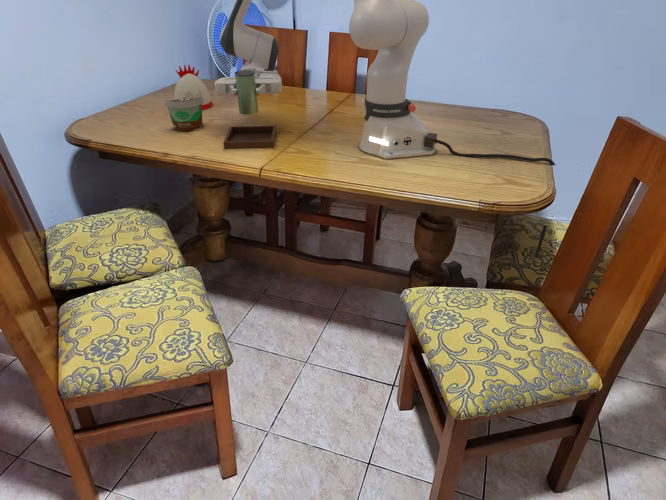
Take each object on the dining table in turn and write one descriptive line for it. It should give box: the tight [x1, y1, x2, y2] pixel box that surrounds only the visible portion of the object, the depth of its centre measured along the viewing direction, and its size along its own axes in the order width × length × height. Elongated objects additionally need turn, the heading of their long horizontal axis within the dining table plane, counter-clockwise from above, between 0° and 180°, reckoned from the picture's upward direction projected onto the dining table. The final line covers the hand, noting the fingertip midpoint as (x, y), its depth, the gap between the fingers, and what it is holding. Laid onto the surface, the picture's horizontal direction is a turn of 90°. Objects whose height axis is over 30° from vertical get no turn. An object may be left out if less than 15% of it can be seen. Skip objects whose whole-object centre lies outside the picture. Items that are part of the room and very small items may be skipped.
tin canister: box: [234, 69, 259, 116], centre depth 136 cm, size 6×6×11 cm
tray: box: [223, 125, 277, 150], centre depth 143 cm, size 15×15×2 cm
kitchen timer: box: [173, 63, 213, 111], centre depth 172 cm, size 14×14×15 cm
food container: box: [164, 96, 204, 133], centre depth 150 cm, size 12×6×10 cm, turn 105°
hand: (246, 92), depth 135 cm, fingers closed on tin canister, 5 cm apart
